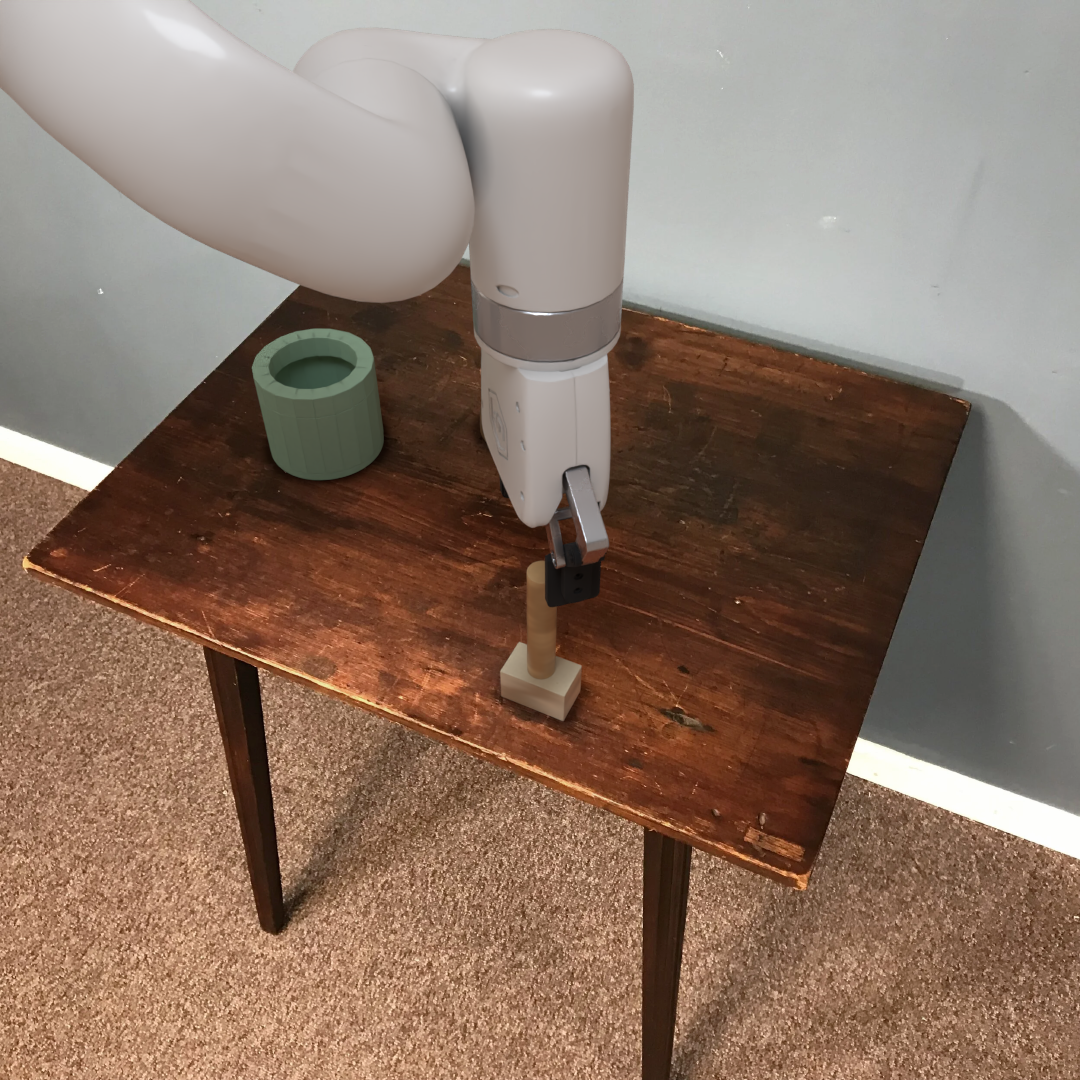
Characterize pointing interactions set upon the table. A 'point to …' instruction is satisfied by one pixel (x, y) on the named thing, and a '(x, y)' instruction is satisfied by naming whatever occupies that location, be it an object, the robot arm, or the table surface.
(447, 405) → the table surface
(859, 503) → the table surface
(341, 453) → the jar
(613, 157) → the robot arm
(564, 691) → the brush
